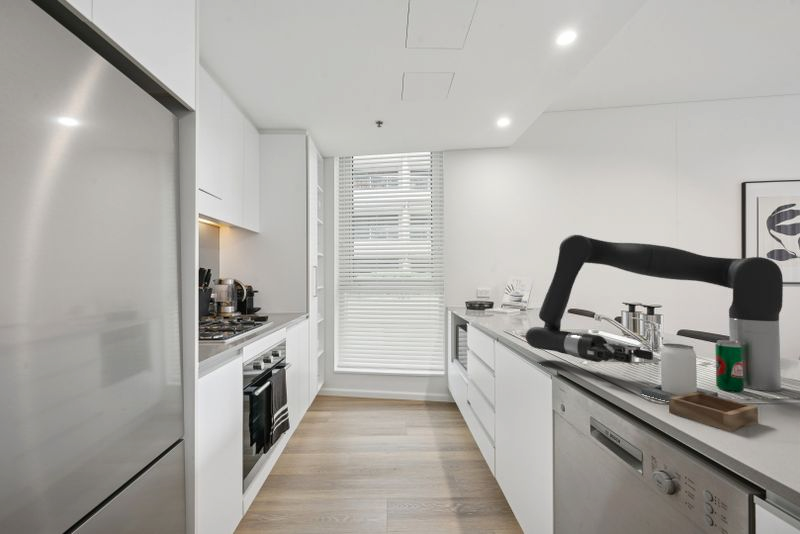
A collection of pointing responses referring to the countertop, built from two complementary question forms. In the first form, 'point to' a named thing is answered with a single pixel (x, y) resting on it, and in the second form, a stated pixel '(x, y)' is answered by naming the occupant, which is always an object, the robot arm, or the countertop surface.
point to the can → (678, 369)
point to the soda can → (729, 366)
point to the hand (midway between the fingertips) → (641, 357)
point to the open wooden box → (714, 411)
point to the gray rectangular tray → (659, 394)
